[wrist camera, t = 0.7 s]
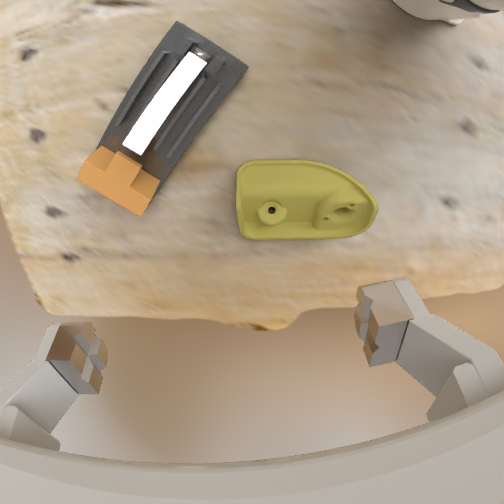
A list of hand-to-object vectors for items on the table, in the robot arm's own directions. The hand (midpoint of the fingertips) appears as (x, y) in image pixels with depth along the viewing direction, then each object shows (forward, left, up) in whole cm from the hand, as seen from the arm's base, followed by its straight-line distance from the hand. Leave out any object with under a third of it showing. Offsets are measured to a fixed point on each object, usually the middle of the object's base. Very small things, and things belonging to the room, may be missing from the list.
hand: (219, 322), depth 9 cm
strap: (+3, -7, -30) cm, 30 cm away
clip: (+14, -7, -35) cm, 38 cm away
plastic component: (+6, +18, -39) cm, 43 cm away
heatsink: (+7, -7, -38) cm, 39 cm away
